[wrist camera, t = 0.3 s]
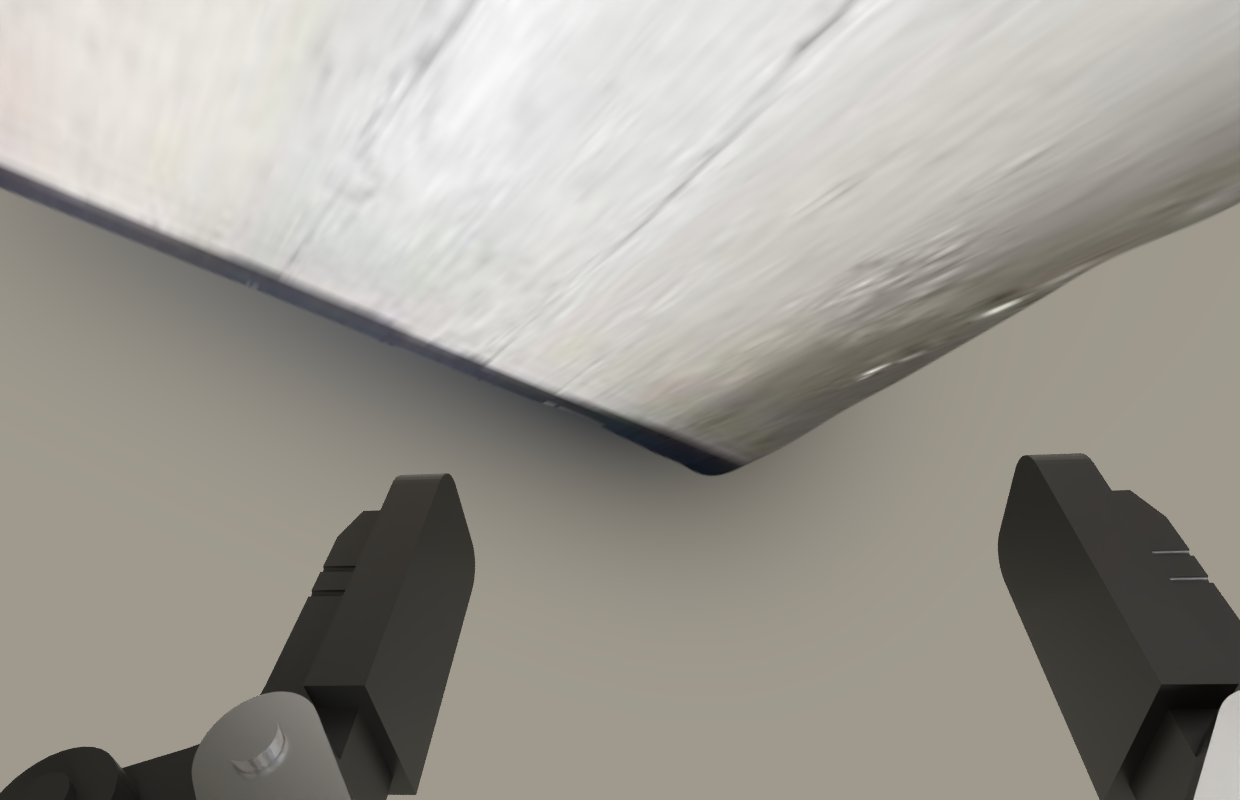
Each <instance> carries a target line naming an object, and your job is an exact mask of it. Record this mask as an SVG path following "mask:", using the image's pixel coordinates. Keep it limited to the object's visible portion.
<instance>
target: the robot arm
mask: <svg viewBox="0 0 1240 800" xmlns="http://www.w3.org/2000/svg"><path fill="white" fill-rule="evenodd" d="M998 555H999V563H1000V568H1001V572H1002V575H1003V578H1004V581H1005V583H1006V585H1007V588H1008V590H1009V593H1010V595H1011V597H1012V599H1013V602H1014V604H1015V606H1016V609H1017V611H1018V613H1019V616H1020V617H1021V620H1022V622H1023V625H1024V627H1025V629H1026V632H1027V633H1028V636H1029V638H1030V641H1031V643H1032V645H1033V647H1034V650H1035V652H1036V654H1037V656H1038V659H1039V661H1040V664H1041V666H1042V668H1043V671H1044V673H1045V675H1046V677H1047V680H1048V682H1049V684H1050V687H1051V689H1052V691H1053V694H1054V696H1055V698H1056V700H1057V703H1058V705H1059V707H1060V710H1061V712H1062V714H1063V716H1064V719H1065V721H1066V723H1067V725H1068V728H1069V730H1070V732H1071V734H1072V737H1073V739H1074V742H1075V744H1076V746H1077V749H1078V751H1079V753H1080V755H1081V758H1082V760H1083V762H1084V765H1085V767H1086V769H1087V772H1088V774H1089V776H1090V779H1091V781H1092V783H1093V785H1094V788H1095V790H1096V792H1097V794H1098V797H1099V799H1100V800H1240V620H1239V618H1238V617H1237V616H1236V614H1235V613H1234V611H1233V610H1232V609H1231V607H1230V606H1229V604H1228V603H1227V602H1226V600H1225V599H1224V597H1223V596H1222V595H1221V593H1220V592H1219V590H1218V589H1217V588H1216V586H1215V585H1214V583H1209V581H1208V575H1207V574H1206V572H1205V571H1204V569H1203V568H1202V567H1201V565H1200V564H1199V562H1198V561H1197V559H1196V558H1195V557H1194V556H1190V554H1189V548H1188V547H1187V545H1186V544H1185V543H1184V541H1183V540H1182V539H1181V537H1180V536H1179V534H1178V533H1177V532H1176V530H1175V529H1174V527H1173V526H1172V524H1171V523H1170V522H1169V520H1168V519H1167V518H1166V517H1165V516H1164V515H1163V514H1161V513H1160V512H1159V511H1157V510H1156V509H1155V508H1153V507H1152V506H1150V505H1149V504H1148V503H1147V502H1145V501H1144V500H1143V499H1141V498H1140V497H1139V496H1137V495H1136V494H1134V493H1133V492H1132V491H1130V490H1122V491H1121V490H1120V491H1112V490H1111V489H1110V488H1109V486H1108V484H1107V483H1106V481H1105V480H1104V478H1103V477H1102V475H1101V474H1100V472H1099V471H1098V469H1097V468H1096V466H1095V465H1094V463H1093V462H1092V461H1091V459H1090V458H1089V457H1088V456H1087V455H1085V454H1081V453H1079V454H1050V455H1025V456H1022V457H1021V458H1020V460H1019V461H1018V463H1017V466H1016V469H1015V473H1014V477H1013V481H1012V485H1011V489H1010V493H1009V496H1008V500H1007V505H1006V508H1005V513H1004V516H1003V520H1002V524H1001V528H1000V532H999V538H998ZM323 567H324V571H323V572H320V574H319V576H318V578H317V581H316V582H315V585H314V587H313V589H312V596H311V597H308V599H307V601H306V603H305V605H304V607H303V609H302V611H301V613H300V615H299V617H298V620H297V622H296V624H295V626H294V628H293V630H292V632H291V634H290V636H289V638H288V640H287V642H286V644H285V646H284V648H283V651H282V653H281V655H280V657H279V659H278V661H277V663H276V665H275V667H274V669H273V671H272V673H271V675H270V677H269V679H268V681H267V684H266V686H265V687H264V689H263V691H262V693H261V694H260V695H259V696H256V697H253V698H251V699H249V700H247V701H245V702H243V703H241V704H240V705H238V706H236V707H234V708H233V709H232V710H230V711H229V712H228V713H226V714H225V715H224V716H223V717H222V718H220V720H218V721H217V722H216V723H215V724H214V725H213V727H212V728H211V729H210V730H209V731H208V732H207V734H206V735H205V737H204V738H203V740H202V741H201V743H200V744H198V745H196V746H193V747H190V748H187V749H184V750H181V751H177V752H174V753H171V754H167V755H164V756H161V757H157V758H154V759H151V760H148V761H144V762H141V763H138V764H134V765H131V766H128V767H125V768H121V767H120V766H119V765H118V763H117V762H116V761H115V760H114V759H113V758H112V757H111V756H110V755H109V753H107V752H106V751H104V750H102V749H99V748H95V747H78V748H72V749H68V750H65V751H61V752H59V753H57V754H54V755H51V756H49V757H47V758H45V759H44V760H42V761H40V762H38V763H36V764H35V765H33V766H32V767H30V768H28V769H27V770H26V771H25V772H23V773H22V774H20V775H19V776H18V777H17V778H15V779H14V780H13V781H12V782H11V783H10V784H9V785H8V786H7V787H6V788H5V789H4V790H3V791H2V792H1V793H0V800H386V799H387V795H416V793H417V789H418V786H419V782H420V778H421V775H422V771H423V767H424V764H425V760H426V756H427V753H428V749H429V745H430V742H431V738H432V735H433V731H434V727H435V724H436V720H437V716H438V712H439V709H440V705H441V702H442V698H443V694H444V691H445V687H446V683H447V679H448V675H449V672H450V669H451V665H452V661H453V657H454V654H455V650H456V646H457V643H458V639H459V635H460V632H461V628H462V625H463V621H464V617H465V614H466V610H467V606H468V603H469V599H470V595H471V592H472V588H473V583H474V574H475V557H474V548H473V544H472V540H471V537H470V533H469V530H468V527H467V523H466V519H465V516H464V513H463V510H462V506H461V502H460V499H459V495H458V492H457V489H456V485H455V482H454V480H453V478H452V476H451V475H450V474H421V475H400V476H398V477H396V479H395V480H394V481H393V483H392V485H391V488H390V490H389V492H388V494H387V497H386V499H385V501H384V503H383V506H382V508H381V510H380V511H363V512H362V513H361V514H360V515H359V516H358V517H357V518H356V519H355V520H354V521H353V522H352V523H351V524H350V525H349V526H348V527H347V528H346V529H345V530H344V531H343V532H342V533H341V534H340V535H339V536H338V537H337V539H336V541H335V543H334V545H333V548H332V549H331V552H330V554H329V556H328V558H327V560H326V562H325V564H324V566H323Z"/></svg>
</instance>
